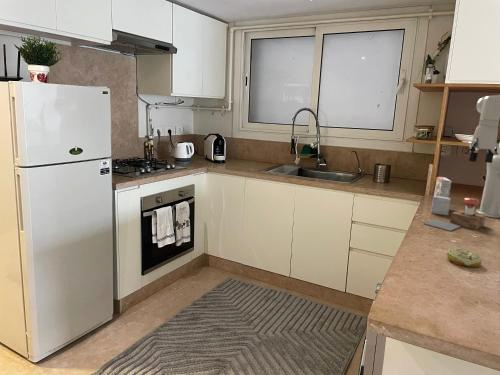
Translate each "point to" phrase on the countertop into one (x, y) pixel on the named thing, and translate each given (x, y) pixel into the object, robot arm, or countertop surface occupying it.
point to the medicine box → (440, 205)
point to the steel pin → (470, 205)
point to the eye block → (467, 220)
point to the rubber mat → (442, 225)
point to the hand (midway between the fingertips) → (480, 161)
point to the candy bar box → (442, 187)
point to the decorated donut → (464, 257)
